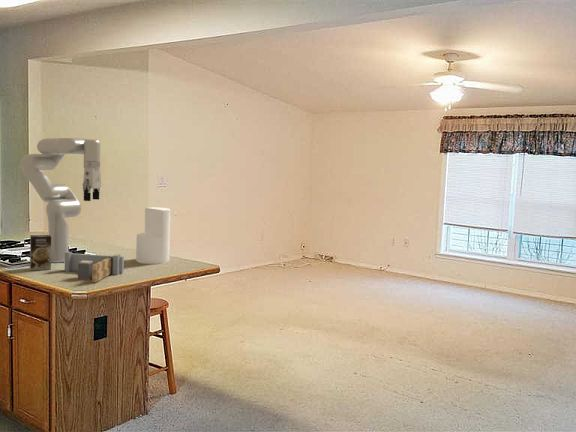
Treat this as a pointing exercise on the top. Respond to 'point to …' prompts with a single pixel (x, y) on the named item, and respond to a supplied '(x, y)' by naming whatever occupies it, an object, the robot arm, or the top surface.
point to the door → (102, 269)
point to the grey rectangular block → (85, 269)
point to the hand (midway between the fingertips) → (91, 200)
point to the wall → (74, 259)
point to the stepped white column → (154, 237)
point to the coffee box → (40, 252)
